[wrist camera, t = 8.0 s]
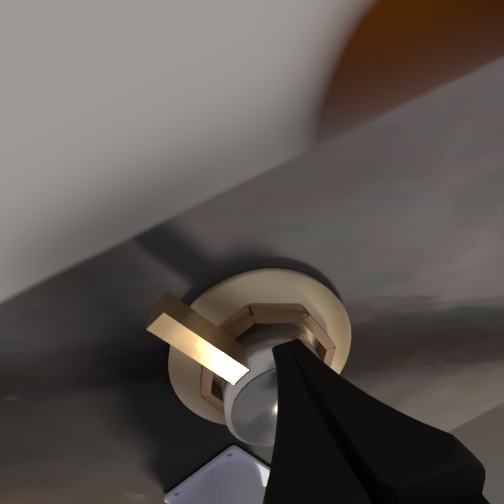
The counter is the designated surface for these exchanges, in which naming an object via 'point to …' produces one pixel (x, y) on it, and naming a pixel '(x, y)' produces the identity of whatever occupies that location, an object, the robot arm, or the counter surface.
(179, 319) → the milk pan
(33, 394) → the counter surface
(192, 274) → the counter surface
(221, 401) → the board
